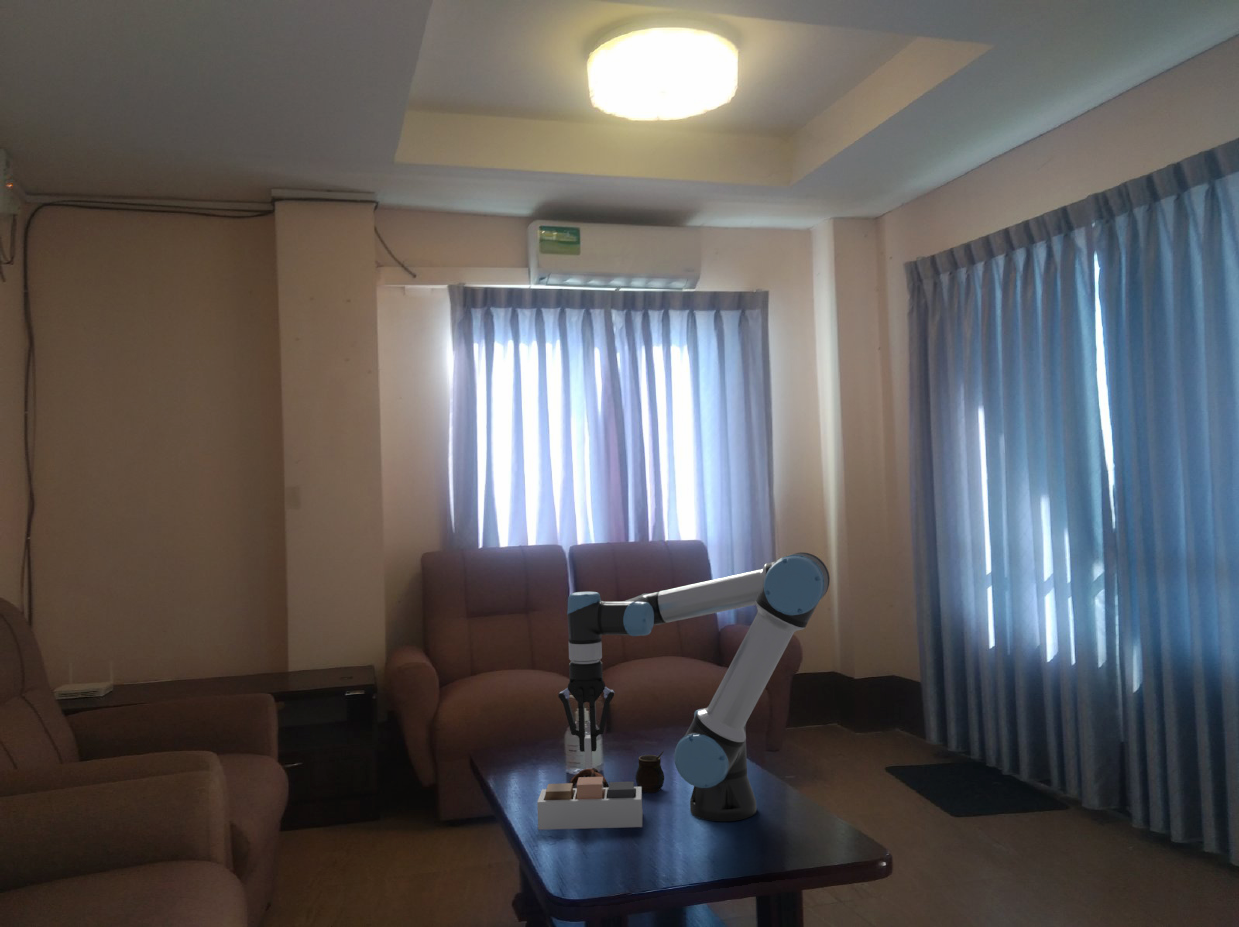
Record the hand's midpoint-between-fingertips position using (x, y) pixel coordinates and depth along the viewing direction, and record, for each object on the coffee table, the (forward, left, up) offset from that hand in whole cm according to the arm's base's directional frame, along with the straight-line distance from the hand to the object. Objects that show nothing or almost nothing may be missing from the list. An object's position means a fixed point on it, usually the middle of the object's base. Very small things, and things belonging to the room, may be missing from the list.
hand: (588, 765), depth 206 cm
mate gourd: (+1, -25, -13) cm, 28 cm away
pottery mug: (+10, -13, -13) cm, 20 cm away
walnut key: (+6, +4, -10) cm, 12 cm away
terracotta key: (0, 0, -8) cm, 8 cm away
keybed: (0, 0, -12) cm, 12 cm away
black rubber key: (-6, -4, -10) cm, 12 cm away
